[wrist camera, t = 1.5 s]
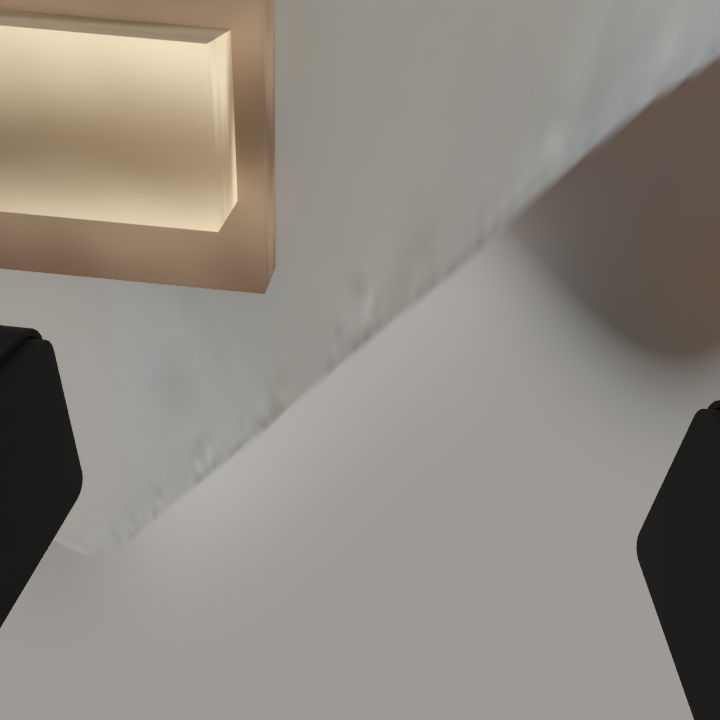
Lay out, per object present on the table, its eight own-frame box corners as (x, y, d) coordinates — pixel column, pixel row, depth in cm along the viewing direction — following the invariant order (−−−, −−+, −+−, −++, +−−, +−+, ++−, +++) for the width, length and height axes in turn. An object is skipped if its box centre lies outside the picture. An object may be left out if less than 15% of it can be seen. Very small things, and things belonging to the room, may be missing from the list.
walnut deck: (-200, -153, 22) (-264, -161, 20) (272, -113, 21) (257, -117, 19) (-70, 234, 30) (-107, 258, 28) (275, 267, 29) (264, 293, 27)
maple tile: (-63, 3, 22) (-124, 14, 19) (230, 29, 22) (206, 44, 19) (-16, 177, 25) (-63, 205, 23) (237, 201, 25) (218, 232, 23)
